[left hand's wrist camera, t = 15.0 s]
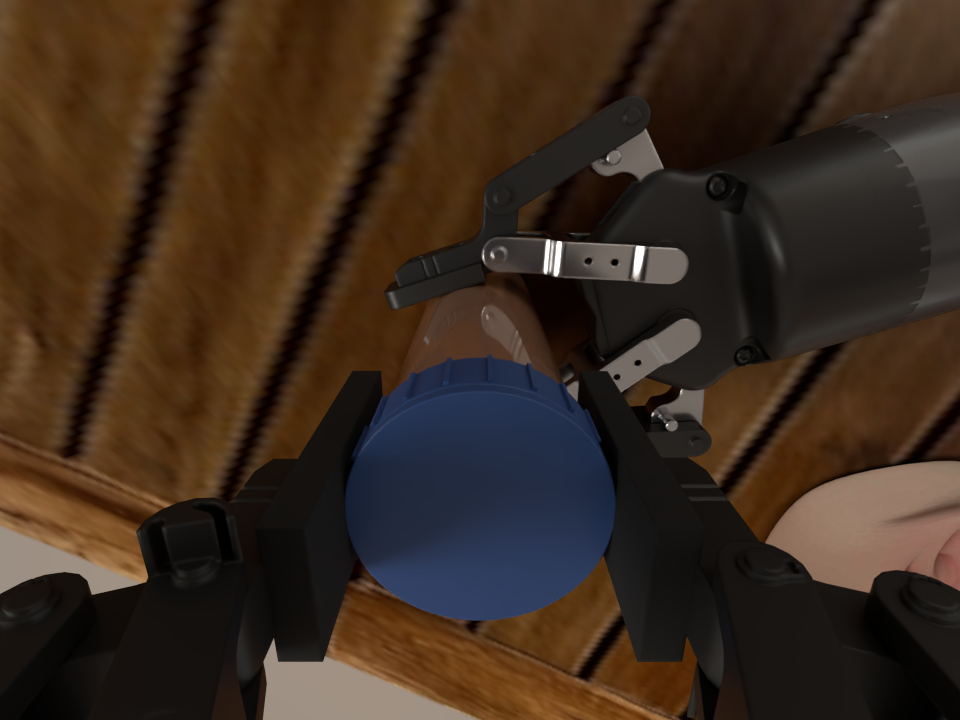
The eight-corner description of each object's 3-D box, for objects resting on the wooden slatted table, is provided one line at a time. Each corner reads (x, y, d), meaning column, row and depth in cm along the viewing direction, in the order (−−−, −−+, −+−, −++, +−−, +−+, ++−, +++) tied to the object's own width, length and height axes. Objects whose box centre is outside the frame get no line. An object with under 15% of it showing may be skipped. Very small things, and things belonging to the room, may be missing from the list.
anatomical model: (774, 681, 30) (810, 509, 26) (741, 623, 33) (768, 465, 29) (1014, 674, 29) (1087, 500, 25) (954, 617, 33) (1010, 457, 29)
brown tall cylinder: (519, 244, 25) (579, 364, 10) (537, 339, 27) (614, 569, 12) (419, 266, 26) (329, 415, 10) (444, 359, 27) (397, 607, 12)
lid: (382, 328, 11) (363, 359, 9) (631, 383, 11) (660, 423, 10) (345, 538, 13) (323, 597, 11) (561, 579, 13) (573, 642, 11)
